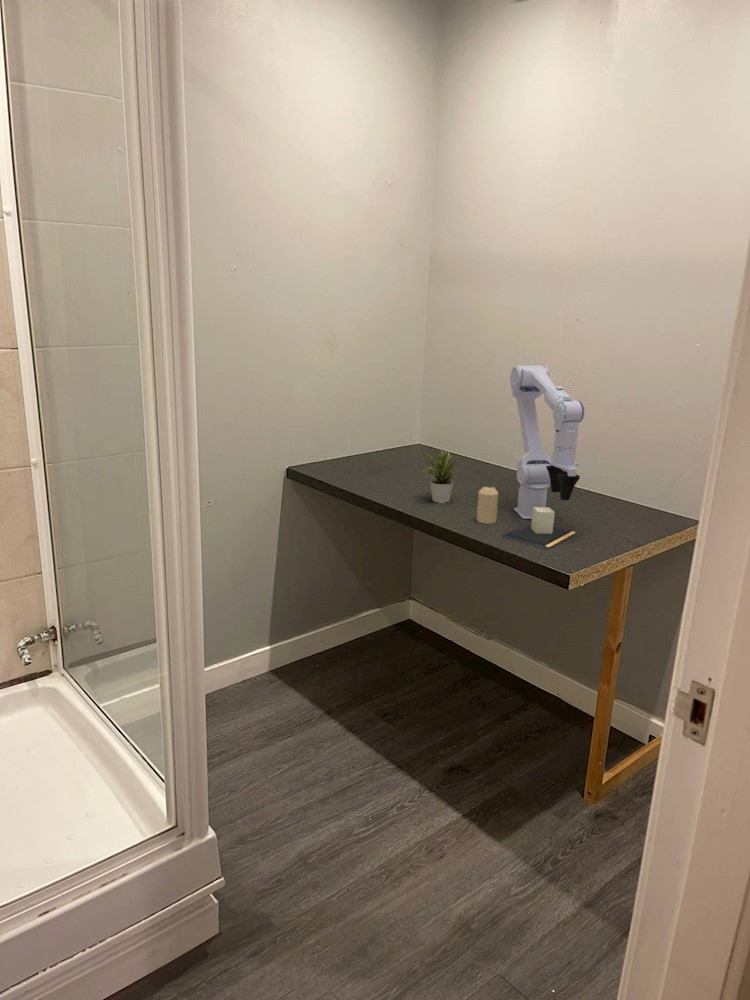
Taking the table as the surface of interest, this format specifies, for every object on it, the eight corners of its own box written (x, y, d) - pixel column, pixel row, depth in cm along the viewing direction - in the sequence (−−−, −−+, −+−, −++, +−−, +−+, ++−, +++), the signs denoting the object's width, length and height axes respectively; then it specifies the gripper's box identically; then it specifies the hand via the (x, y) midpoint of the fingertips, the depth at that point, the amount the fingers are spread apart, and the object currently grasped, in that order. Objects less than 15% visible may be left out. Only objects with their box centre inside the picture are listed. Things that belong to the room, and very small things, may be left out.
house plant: (413, 493, 229) (415, 443, 224) (456, 493, 230) (459, 443, 225) (419, 506, 215) (421, 453, 211) (464, 506, 216) (468, 454, 212)
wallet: (534, 516, 205) (583, 529, 196) (533, 522, 206) (582, 535, 196) (496, 532, 191) (547, 547, 181) (495, 539, 191) (546, 554, 182)
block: (530, 528, 195) (533, 507, 193) (547, 528, 196) (549, 507, 194) (535, 533, 191) (538, 512, 189) (552, 533, 191) (554, 512, 190)
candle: (494, 518, 206) (496, 484, 204) (497, 524, 201) (500, 490, 198) (475, 517, 206) (477, 484, 203) (478, 524, 201) (480, 489, 198)
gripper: (589, 452, 183) (584, 503, 186) (570, 441, 196) (565, 488, 200) (563, 452, 182) (557, 503, 186) (545, 440, 196) (541, 488, 200)
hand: (560, 495), depth 193 cm, fingers open, 7 cm apart
